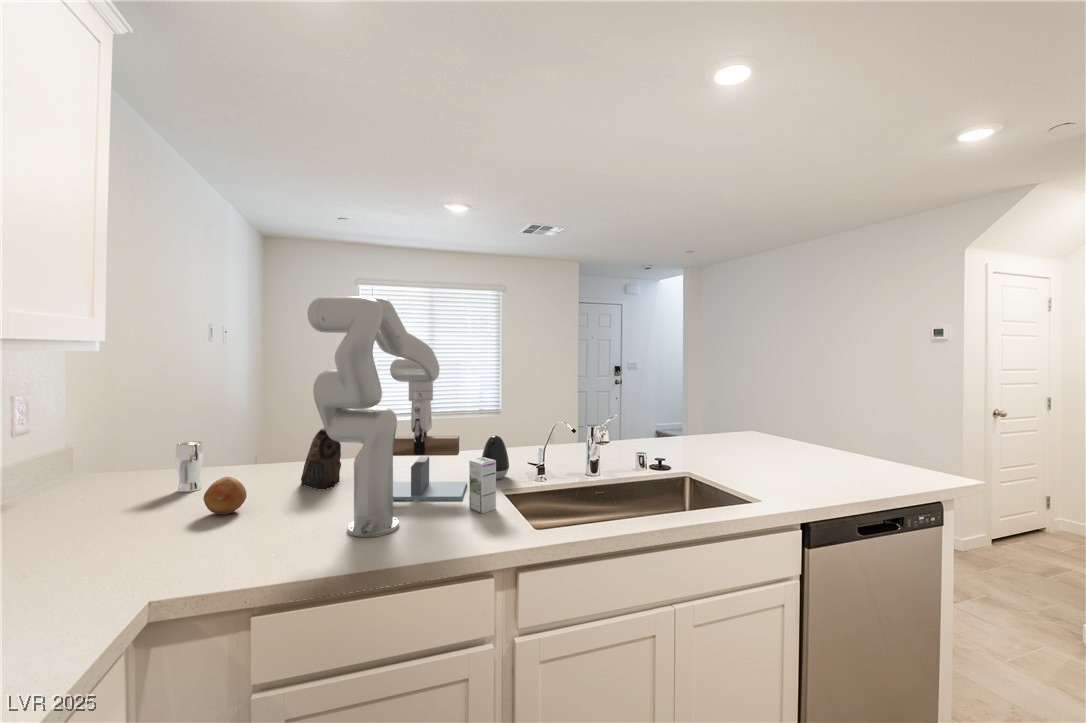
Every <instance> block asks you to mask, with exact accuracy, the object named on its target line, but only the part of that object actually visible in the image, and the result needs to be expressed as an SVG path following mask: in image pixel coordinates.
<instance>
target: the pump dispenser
mask: <svg viewBox="0 0 1086 723" xmlns="http://www.w3.org/2000/svg"><path fill="white" fill-rule="evenodd" d="M481 457H484V458H488V459H492V460H496V480H501V479H503V478H504V477H506V475H507V474H508V472H509V469H510V461H509V455H508V451H507V447H506V445H505V442H504V440H503V439H502V437H500V436H498V435H492V436H490V437H489V438H488V439H487V440H486V443H485V444H484V448H483V451H482V455H481Z"/></svg>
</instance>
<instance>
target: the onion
mask: <svg viewBox="0 0 1086 723" xmlns="http://www.w3.org/2000/svg"><path fill="white" fill-rule="evenodd" d="M246 499H247V490H246V488H245V486H244V484H243V483H242V482H241V481H239V480H238V479H237V478H234V477H231V476H223V477H221V478H219V479H218V480H216V481H214V482H213V483H212V484H211V485H210V486H209V487H208V488H207V490H205V492H204V495H203V502H204V505H205V506H206V508H207V510H209V512H211V513H214V514H217V515H221V516H222V515H225V516H227V515H229V514H232V513H234V512H235V511H237V510H238V509H239V508H241V506H242V505H243V504H244V503H245V501H246Z"/></svg>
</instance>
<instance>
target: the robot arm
mask: <svg viewBox="0 0 1086 723" xmlns="http://www.w3.org/2000/svg"><path fill="white" fill-rule="evenodd" d="M306 314H307V315H306V316H307V321H308V323H309V324H310V325H309V326H311V327H312V329H314V330H315V331H317V332H319V333H326V334H327V333H328V334H329V333H331V334H332V333H336V334H338V333H339V334H340V333H341V334H342V333H343V334H344V333H345V336H344V337H343V339H342V340H341V342H340V344H338V346H337V348H336V351H335V352H334V363H335V366H336V369H328V370H324V371H322V372H320V373H319V374H318V375H317V376H316V378H315V380H314V383H313V388H312V389H313V390H312V391H313V392H312V393H313V400H314V403H315V406H316V409H317V411H318V414H319V417H320V419H321V422H322V424H323V428H325V430H326V433H327V434H328V436H329V437H330V438H331V439H332V440H334V441H337V442H339V443H350V444H351V443H355V444H362V447H361V449H360V450H359V451H358V453H357V454H356V455H355V458H354V461H353V520H352V521H351V522H350V523H349V524H348V525H347V526H346V527H347V528H346V529H347V533H348V534H349V535H351V536H354V537H359V538H374V537H379V536H384V535H388V534H390V533H392V532H395V531H396V530H397V529H398V528H399V526H400V520H399V519H398V518H397V517H396V516H395V517H394V501H393V482H394V456H393V447H394V439H395V436H396V433H397V429H398V428H397V427H398V419H397V414H396V413H395V412H394V411H393V410H392V409H390V408H389V407H386V406H380V405H379V404H380V403H381V401H382V398H383V391H382V386H381V381H380V378H379V374H378V370H377V367H376V366H377V365H376V363H375V359H374V355H373V354H374V353H373V350H374V344H375V342H376V344H377V345H378V348H380V350H382V352H383V353H386V354H388V355H392V356H395V357H397V358H396V359H394V360H393V361H392V362H391V364H390V368H389V373H390V376H391V377H392V379H394V381H397V382H401V383H408V402H411V406H410V409H411V410H410V411H411V414H410V424H411V425H410V426H411V427H410V430H411V432H412V433H414V435H413V436H414V454H415V455H424V453H425V442H423V441H424V436H428V432H429V431H430V430H431V429H432V427H433V424H432V422H433V420H432V404H431V402H432V401H434V390H433V389H434V382H435V381H436V380H437V379H438V377H439V375H440V364H439V361H438V358H437V356H436V354H435V353H434V350H433V349H432V347H431V346H429V345H428V344H427V343H426V342H425V341H423V340H421V339H420V338H418V337H416V336H415V335H413V334H411V333H409V332H408V331H407V330H406V327H405V325H404V324H403V322H402V321H401V318H400V316H399V314H398V313H397V311H396V309H395V307H394V305H393V303H392V302H391V301H390V300H389V299H387V298H385V297H382V296H320V297H317V298H315V299H313V300H311V302H310V304H309V305H308V307H307V313H306Z"/></svg>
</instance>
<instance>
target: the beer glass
mask: <svg viewBox="0 0 1086 723" xmlns="http://www.w3.org/2000/svg"><path fill="white" fill-rule="evenodd" d="M202 443H203V442H202V441H199V440H198V441H197V440H193V441H184V442H179V443H178V442H177V443H176V448H175V463H176V468H177V473H178V478H179V479H178V480H179V482H178V486H177V487H178V488H177V492H179V493H193V492H196V490H197V491H199V489H200V490H201V489H202V484H201V479H200V478H201V475H200V474H201V470H202V465H203V456H204V455H203V444H202ZM192 491H193V492H192Z"/></svg>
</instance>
